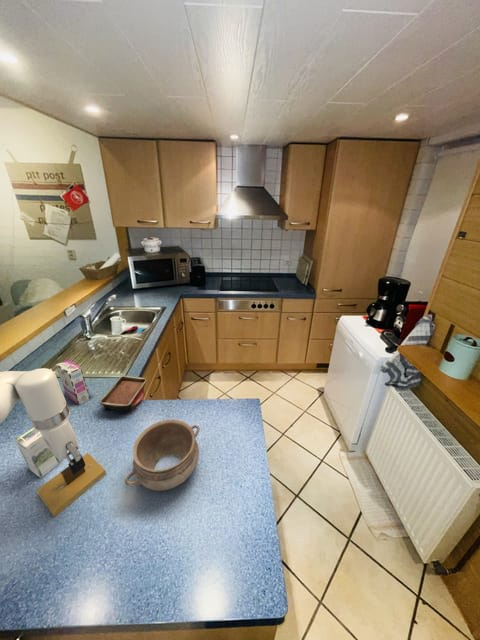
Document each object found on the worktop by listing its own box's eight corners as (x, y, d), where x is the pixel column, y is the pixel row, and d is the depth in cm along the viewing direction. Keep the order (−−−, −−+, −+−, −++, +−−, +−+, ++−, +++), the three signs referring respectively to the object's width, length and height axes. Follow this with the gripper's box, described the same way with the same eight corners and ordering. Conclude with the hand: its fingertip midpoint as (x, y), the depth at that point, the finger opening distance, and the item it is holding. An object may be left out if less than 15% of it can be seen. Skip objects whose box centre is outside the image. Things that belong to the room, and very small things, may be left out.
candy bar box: (91, 399, 105) (82, 367, 98) (79, 407, 101) (68, 374, 95) (78, 389, 111) (68, 358, 104) (66, 396, 107) (54, 364, 100)
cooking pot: (149, 529, 64) (142, 500, 59) (115, 480, 75) (106, 452, 70) (219, 460, 81) (218, 433, 76) (182, 429, 92) (179, 403, 87)
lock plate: (55, 519, 65) (52, 512, 64) (39, 496, 70) (35, 489, 69) (107, 476, 76) (105, 469, 75) (89, 459, 81) (87, 452, 80)
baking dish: (153, 396, 111) (150, 375, 108) (129, 422, 94) (124, 399, 91) (123, 394, 113) (120, 374, 110) (95, 419, 96) (90, 396, 94)
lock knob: (67, 485, 70) (62, 474, 68) (65, 482, 71) (60, 471, 69) (85, 471, 74) (81, 460, 72) (83, 468, 75) (79, 457, 73)
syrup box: (50, 456, 81) (35, 424, 75) (61, 464, 79) (47, 431, 73) (30, 472, 77) (13, 438, 71) (41, 480, 74) (25, 447, 68)
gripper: (19, 409, 64) (41, 454, 71) (49, 442, 55) (71, 490, 63) (52, 393, 70) (69, 436, 77) (83, 420, 61) (100, 466, 68)
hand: (70, 460), depth 70 cm, fingers open, 9 cm apart
